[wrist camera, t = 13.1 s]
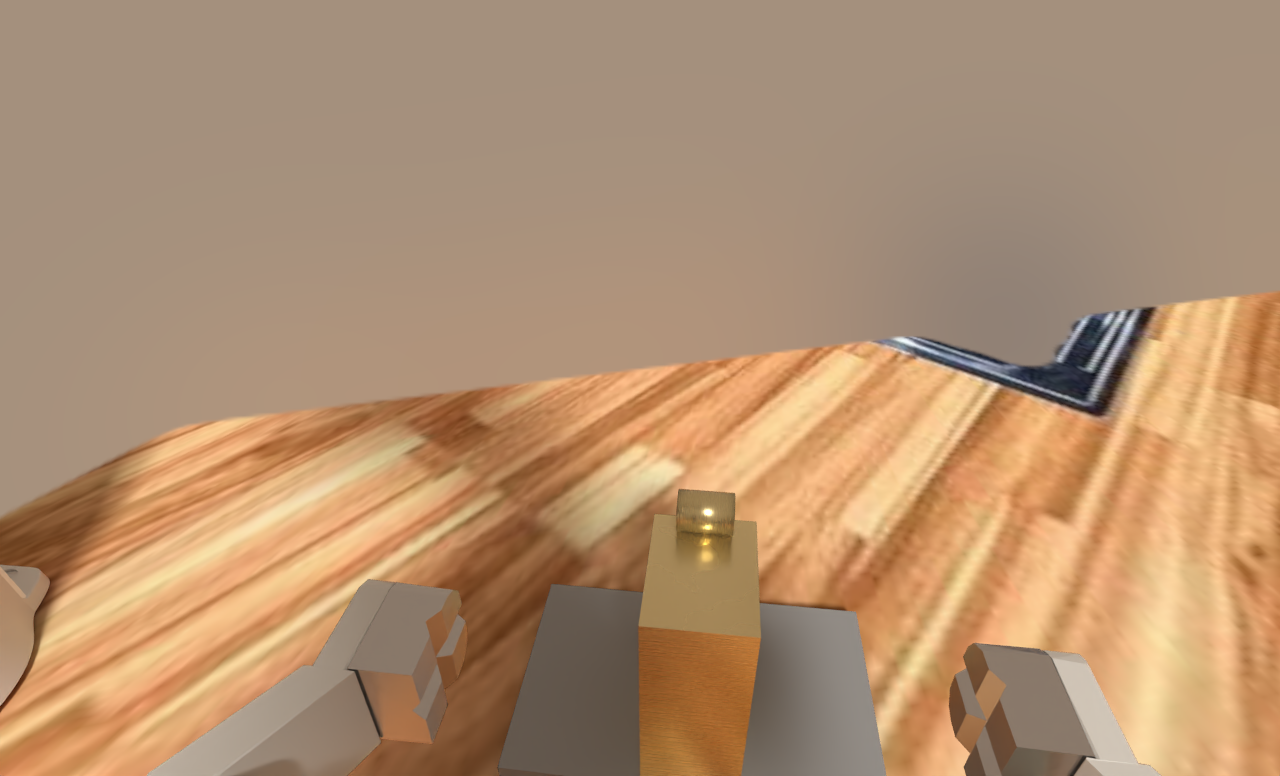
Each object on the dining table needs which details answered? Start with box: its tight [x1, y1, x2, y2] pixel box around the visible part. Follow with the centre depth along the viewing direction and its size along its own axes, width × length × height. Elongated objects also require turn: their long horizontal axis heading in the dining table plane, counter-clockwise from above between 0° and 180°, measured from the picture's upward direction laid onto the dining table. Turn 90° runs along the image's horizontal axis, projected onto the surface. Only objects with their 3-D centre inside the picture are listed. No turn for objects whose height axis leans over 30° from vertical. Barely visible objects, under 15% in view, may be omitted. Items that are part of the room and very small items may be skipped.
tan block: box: [638, 489, 761, 776], centre depth 30 cm, size 4×6×13 cm
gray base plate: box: [497, 584, 886, 776], centre depth 33 cm, size 18×11×10 cm, turn 83°
